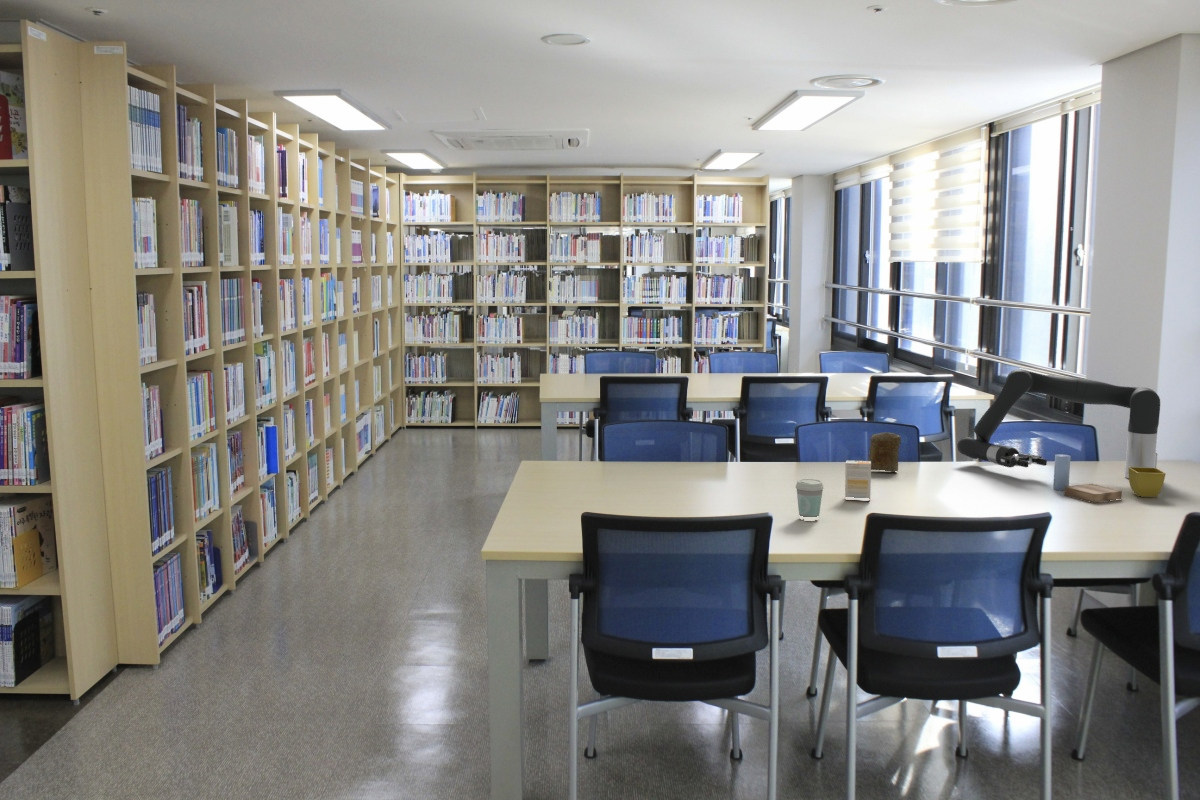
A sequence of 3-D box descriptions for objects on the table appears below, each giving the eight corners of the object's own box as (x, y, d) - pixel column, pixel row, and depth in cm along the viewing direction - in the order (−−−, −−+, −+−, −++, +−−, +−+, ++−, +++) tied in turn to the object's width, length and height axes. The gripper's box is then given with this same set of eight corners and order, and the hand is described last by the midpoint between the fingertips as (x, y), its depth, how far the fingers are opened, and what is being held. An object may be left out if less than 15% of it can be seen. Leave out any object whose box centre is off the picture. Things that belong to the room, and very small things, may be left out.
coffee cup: (791, 516, 286) (792, 478, 284) (817, 515, 287) (818, 478, 285) (799, 523, 277) (800, 485, 276) (826, 522, 278) (827, 484, 276)
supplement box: (870, 498, 307) (871, 460, 305) (869, 502, 302) (871, 463, 301) (845, 497, 310) (846, 459, 308) (844, 500, 305) (845, 462, 303)
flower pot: (1164, 499, 302) (1166, 473, 301) (1135, 498, 304) (1137, 472, 302) (1153, 493, 310) (1155, 467, 309) (1126, 492, 312) (1127, 466, 311)
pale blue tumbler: (1060, 487, 321) (1062, 453, 319) (1071, 490, 316) (1073, 456, 314) (1050, 488, 319) (1051, 455, 317) (1061, 491, 314) (1063, 457, 313)
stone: (865, 472, 348) (866, 433, 346) (872, 467, 356) (873, 430, 354) (895, 475, 342) (896, 436, 340) (901, 470, 350) (902, 432, 348)
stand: (1090, 492, 313) (1091, 483, 313) (1121, 499, 302) (1121, 491, 301) (1064, 495, 309) (1064, 486, 308) (1094, 503, 298) (1095, 494, 297)
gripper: (988, 447, 339) (1022, 454, 324) (1017, 444, 344) (1052, 451, 329) (987, 466, 340) (1021, 475, 325) (1016, 463, 345) (1051, 472, 330)
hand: (1036, 463), depth 327 cm, fingers open, 8 cm apart
